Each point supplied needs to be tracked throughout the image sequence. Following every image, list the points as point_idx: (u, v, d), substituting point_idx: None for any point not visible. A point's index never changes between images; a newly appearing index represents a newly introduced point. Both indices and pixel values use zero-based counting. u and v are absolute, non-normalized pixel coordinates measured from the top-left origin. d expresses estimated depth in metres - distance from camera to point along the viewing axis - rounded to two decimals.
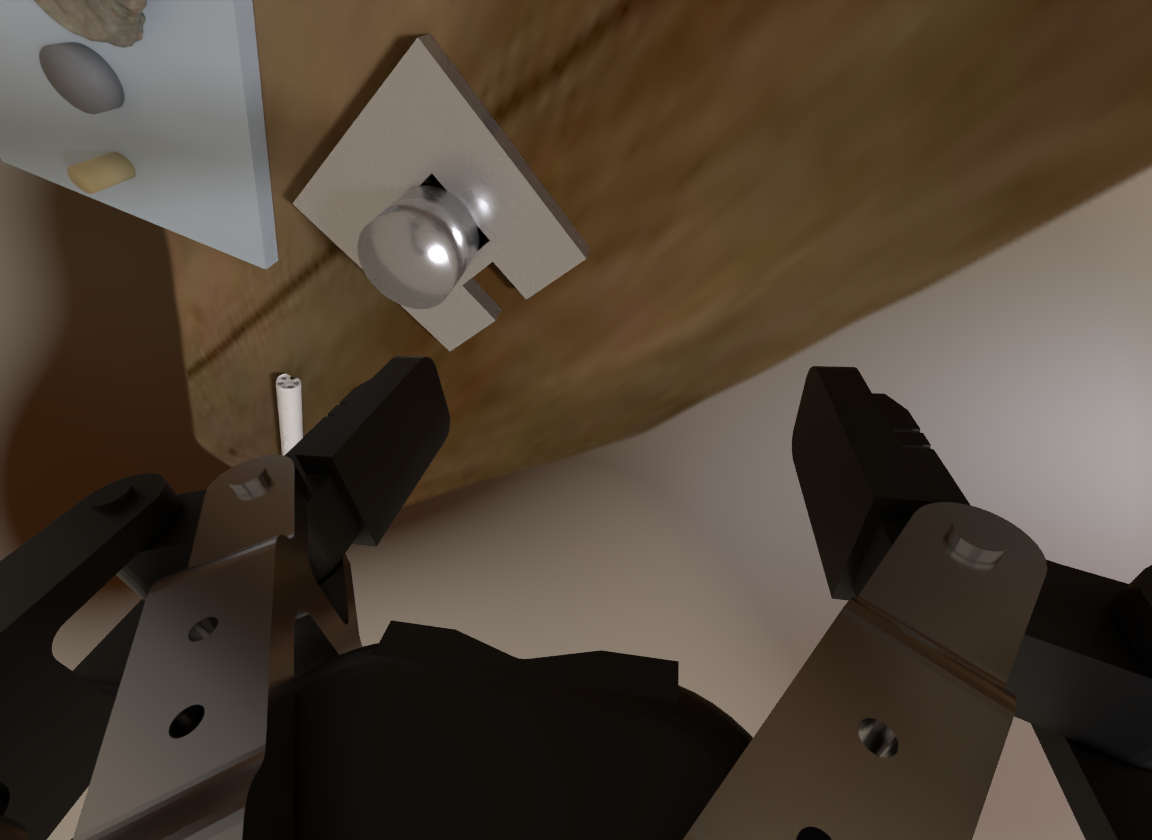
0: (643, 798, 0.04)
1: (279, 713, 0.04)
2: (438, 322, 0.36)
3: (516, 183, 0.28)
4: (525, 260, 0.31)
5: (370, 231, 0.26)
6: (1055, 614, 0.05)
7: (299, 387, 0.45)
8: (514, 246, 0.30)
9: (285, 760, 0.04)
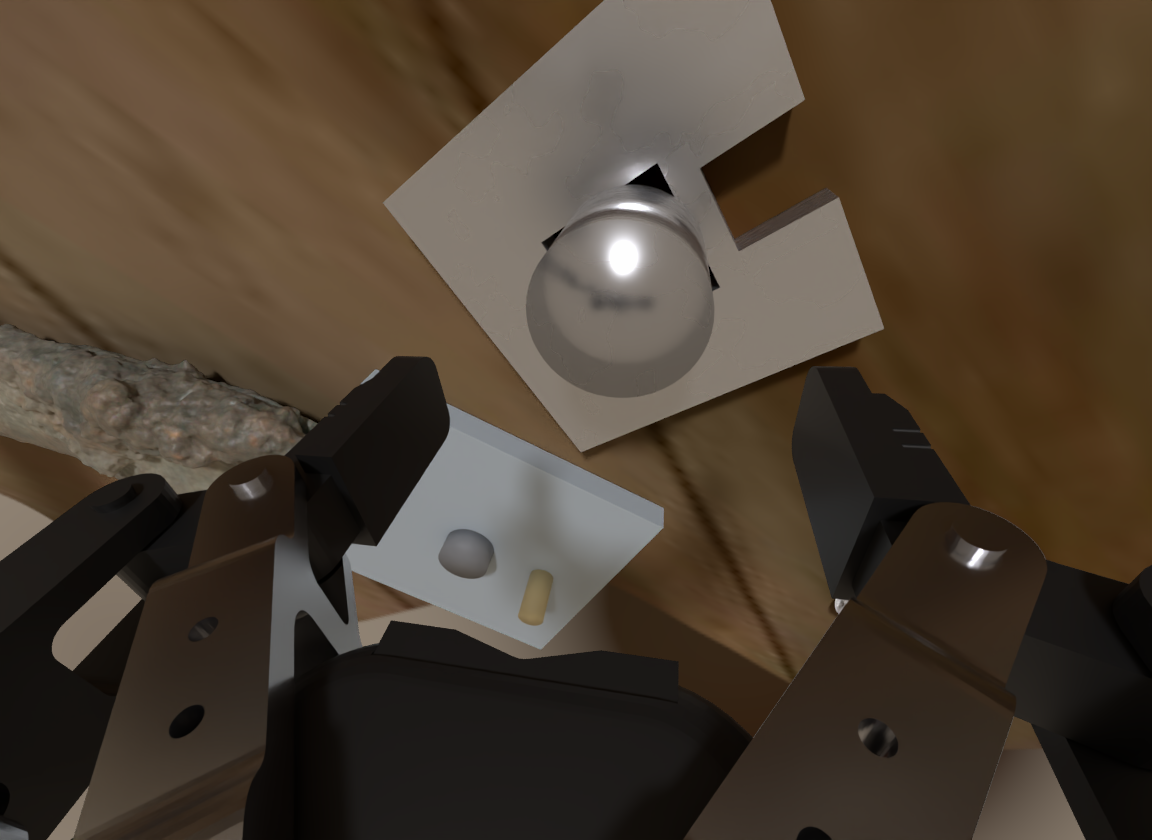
0: (643, 798, 0.04)
1: (280, 712, 0.04)
2: (806, 328, 0.18)
3: (555, 75, 0.15)
4: (709, 84, 0.14)
5: (551, 353, 0.15)
6: (1055, 614, 0.05)
7: None
8: (673, 106, 0.15)
9: (284, 761, 0.04)
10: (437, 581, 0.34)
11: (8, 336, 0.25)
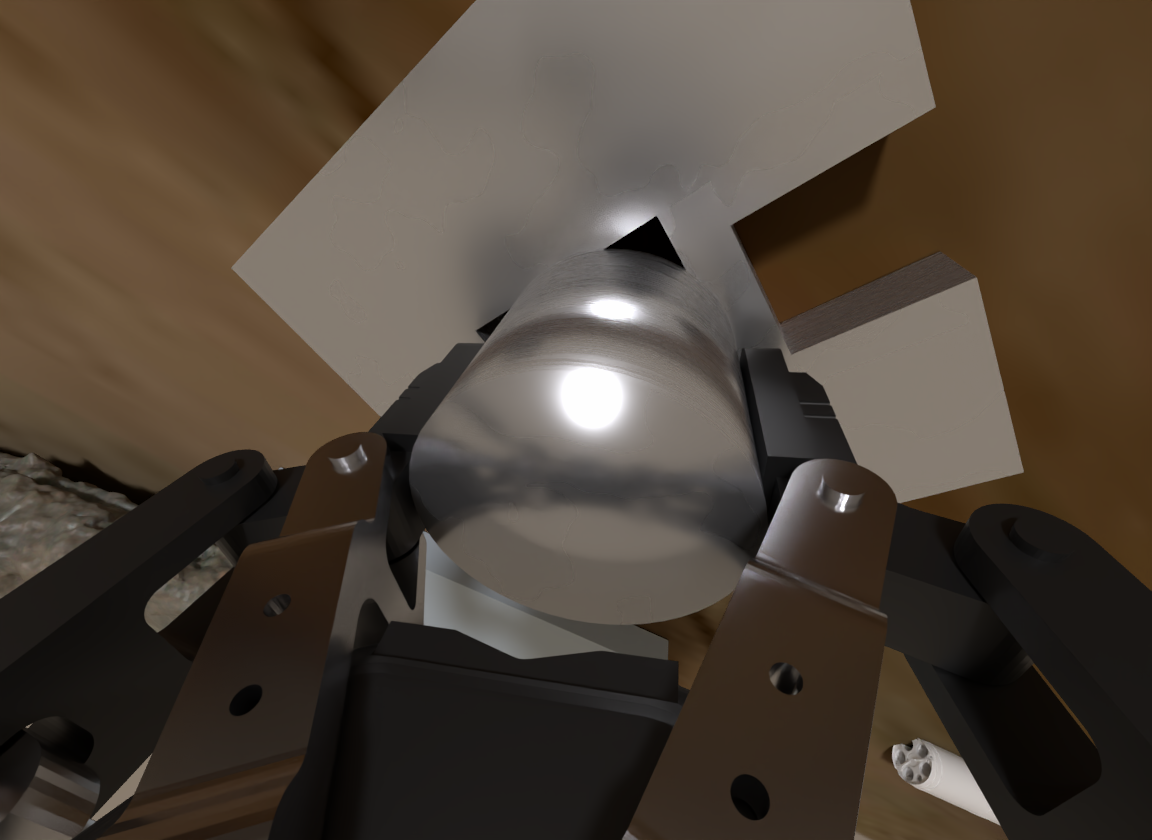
0: None
1: (327, 710, 0.04)
2: (893, 464, 0.11)
3: (473, 66, 0.08)
4: (753, 78, 0.08)
5: (468, 558, 0.08)
6: (906, 550, 0.06)
7: (936, 755, 0.21)
8: (686, 119, 0.08)
9: (324, 764, 0.04)
10: None
11: None
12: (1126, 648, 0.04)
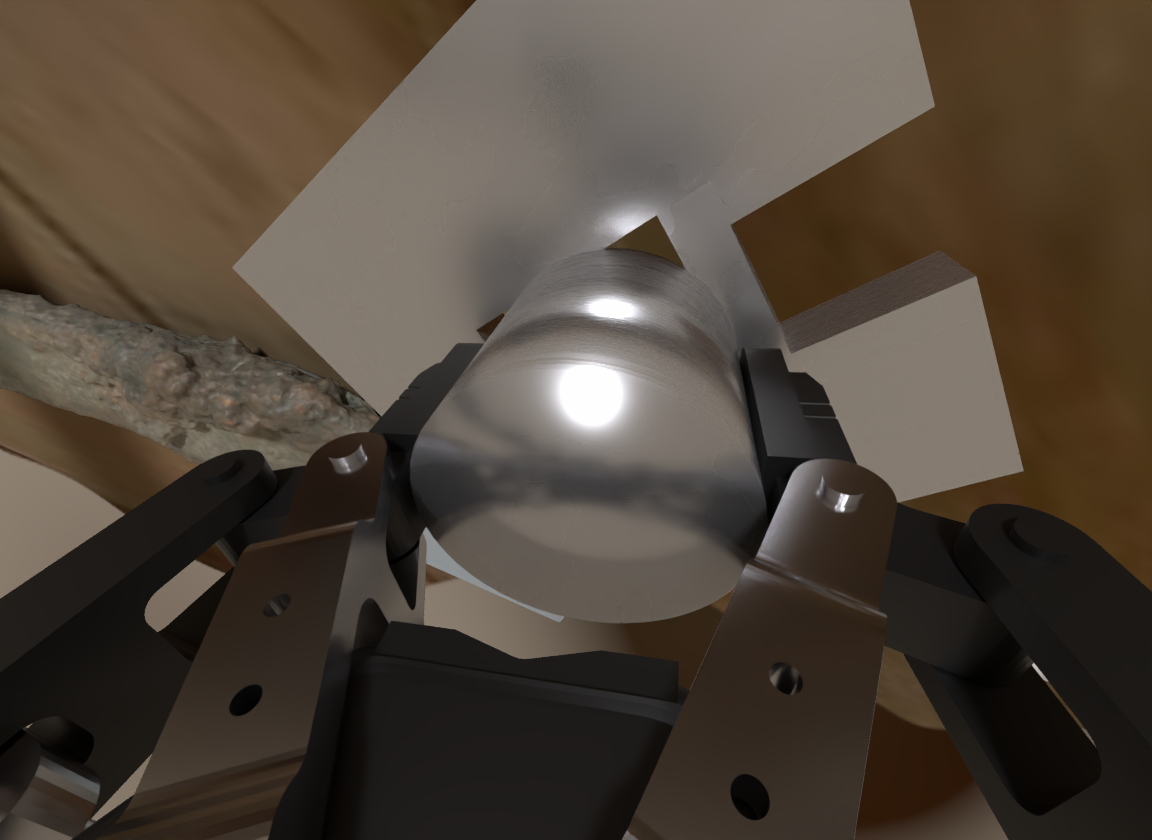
0: None
1: (327, 710, 0.04)
2: (893, 463, 0.12)
3: (473, 65, 0.08)
4: (753, 78, 0.08)
5: (468, 556, 0.09)
6: (906, 550, 0.06)
7: None
8: (686, 118, 0.08)
9: (324, 765, 0.04)
10: None
11: (74, 314, 0.27)
12: (1126, 648, 0.04)
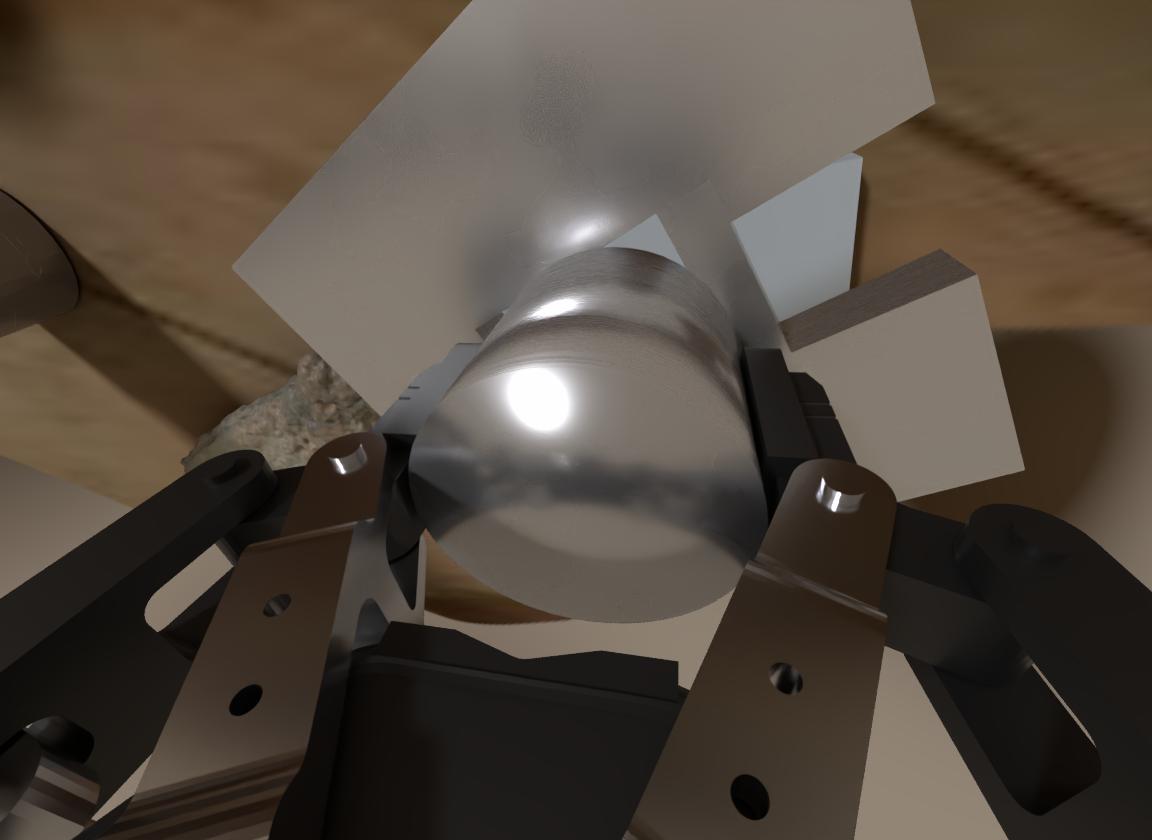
0: None
1: (327, 712, 0.04)
2: (894, 462, 0.11)
3: (472, 63, 0.08)
4: (753, 75, 0.08)
5: (467, 556, 0.08)
6: (906, 550, 0.06)
7: None
8: (685, 116, 0.08)
9: (324, 764, 0.04)
10: None
11: (262, 398, 0.32)
12: (1125, 648, 0.04)
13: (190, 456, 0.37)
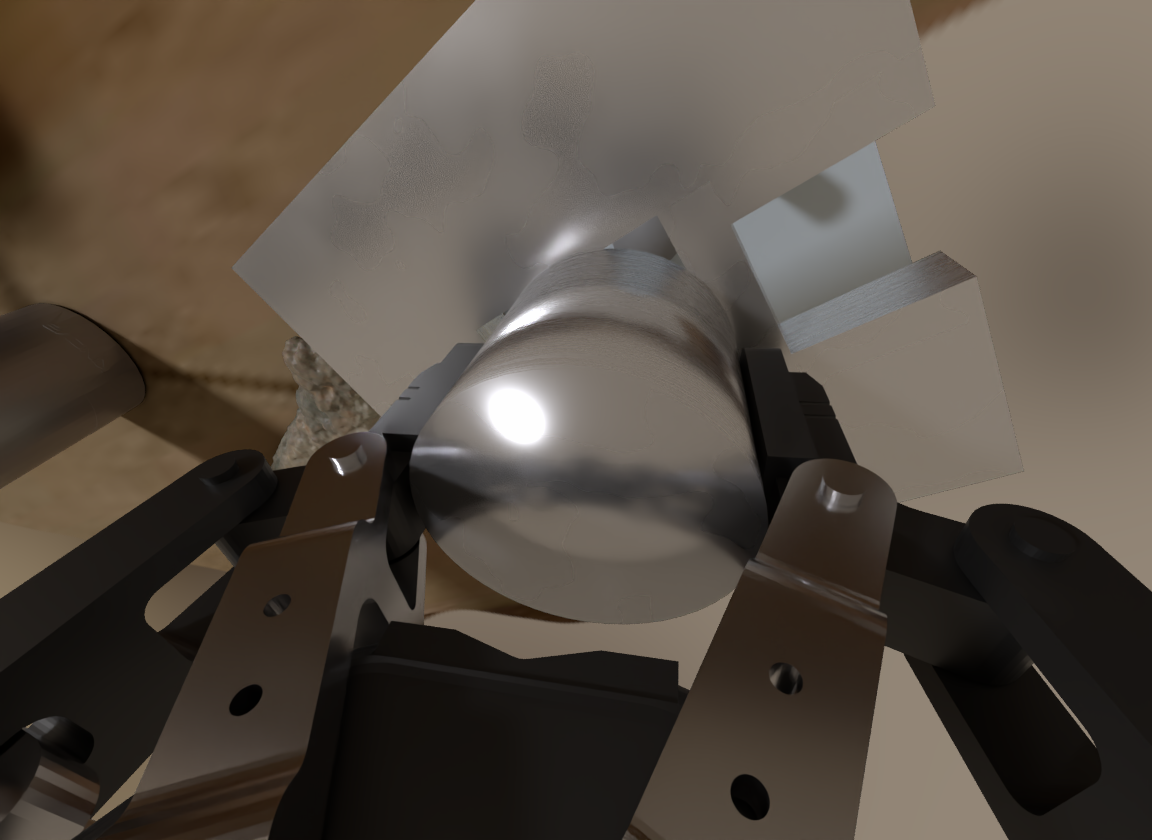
0: None
1: (328, 711, 0.04)
2: (893, 464, 0.11)
3: (473, 65, 0.08)
4: (753, 78, 0.08)
5: (468, 557, 0.08)
6: (906, 550, 0.06)
7: None
8: (686, 119, 0.08)
9: (324, 765, 0.04)
10: None
11: None
12: (1126, 648, 0.04)
13: None
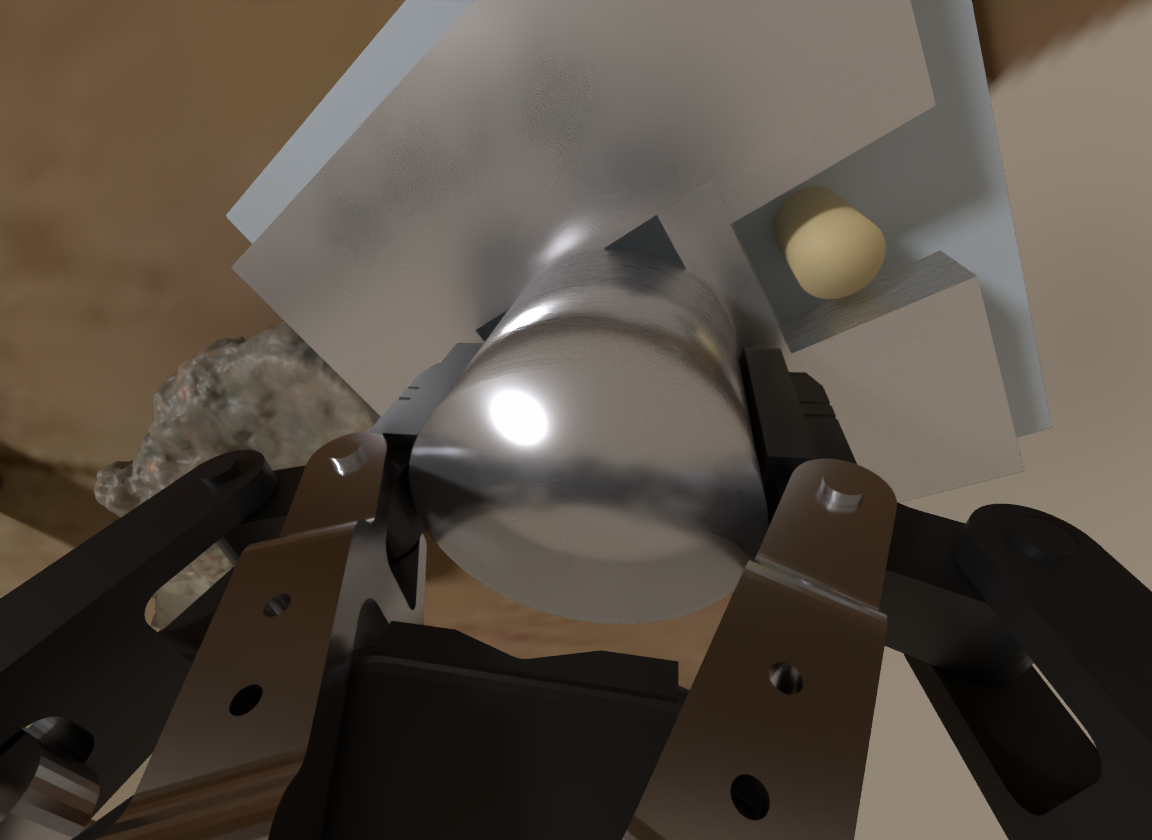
0: None
1: (328, 711, 0.04)
2: (893, 463, 0.11)
3: (472, 64, 0.08)
4: (754, 76, 0.08)
5: (468, 557, 0.08)
6: (906, 550, 0.06)
7: None
8: (686, 118, 0.08)
9: (324, 765, 0.04)
10: None
11: None
12: (1126, 648, 0.04)
13: (155, 616, 0.31)
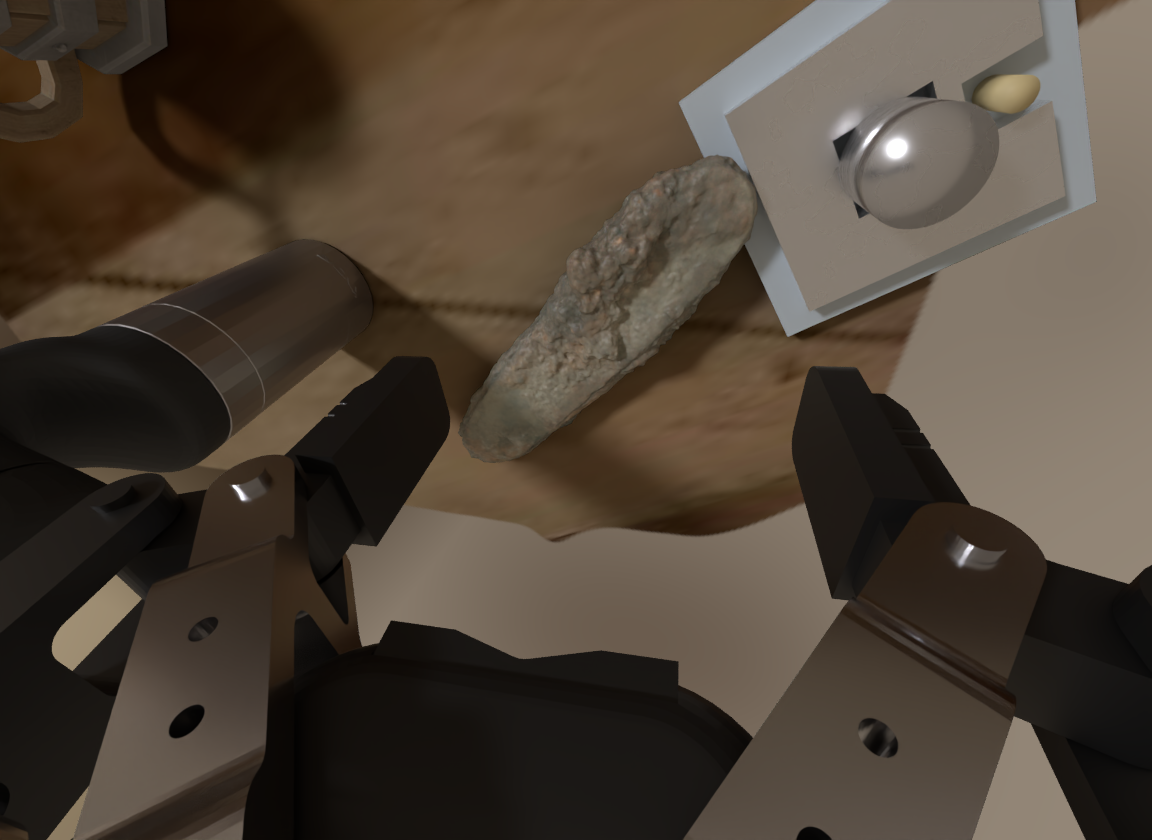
0: (643, 798, 0.04)
1: (279, 713, 0.04)
2: (1009, 198, 0.27)
3: (879, 24, 0.24)
4: (982, 27, 0.23)
5: (874, 197, 0.24)
6: (1055, 614, 0.05)
7: None
8: (954, 42, 0.24)
9: (285, 760, 0.04)
10: None
11: (521, 335, 0.39)
12: None
13: (467, 417, 0.45)
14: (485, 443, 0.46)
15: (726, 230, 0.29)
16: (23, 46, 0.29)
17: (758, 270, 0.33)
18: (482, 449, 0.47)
